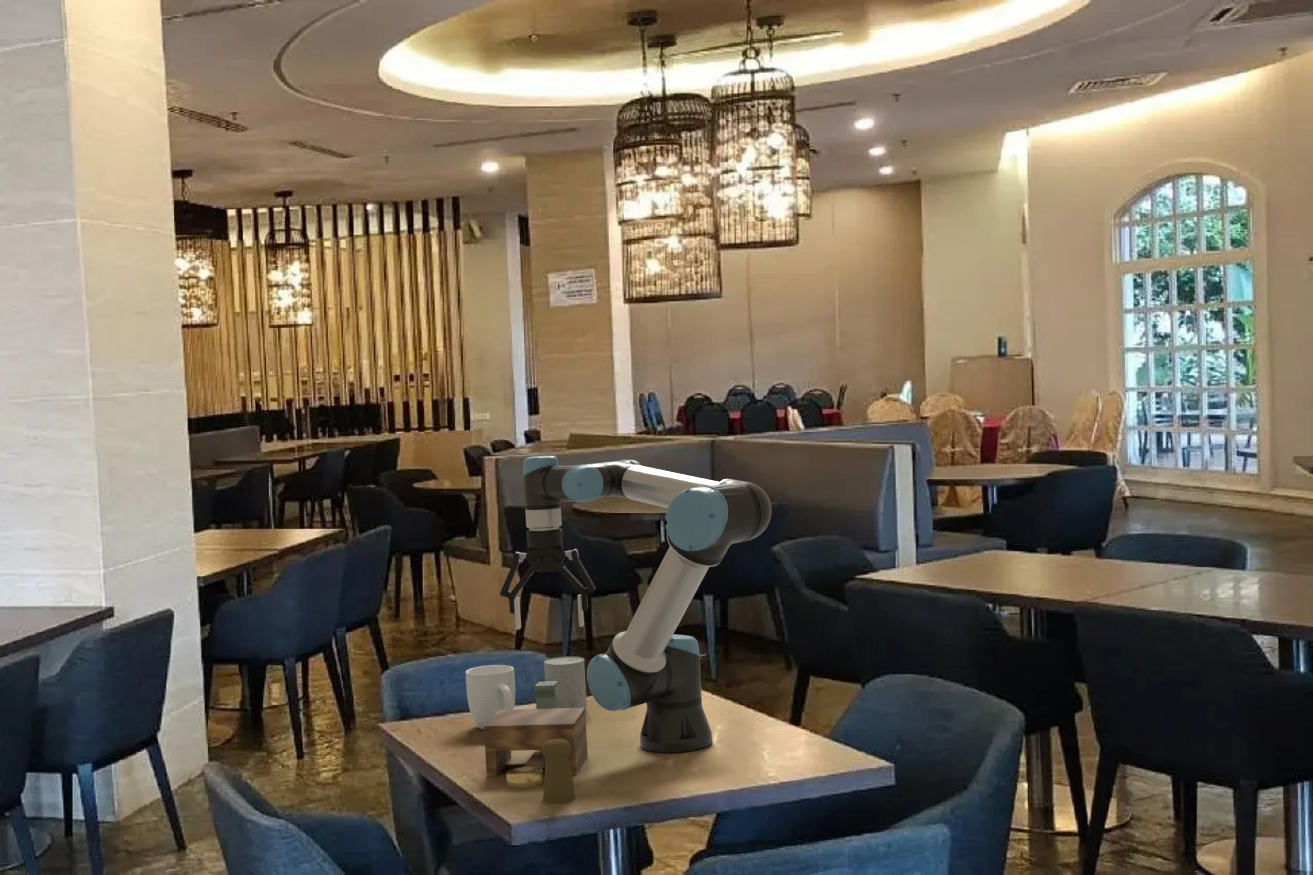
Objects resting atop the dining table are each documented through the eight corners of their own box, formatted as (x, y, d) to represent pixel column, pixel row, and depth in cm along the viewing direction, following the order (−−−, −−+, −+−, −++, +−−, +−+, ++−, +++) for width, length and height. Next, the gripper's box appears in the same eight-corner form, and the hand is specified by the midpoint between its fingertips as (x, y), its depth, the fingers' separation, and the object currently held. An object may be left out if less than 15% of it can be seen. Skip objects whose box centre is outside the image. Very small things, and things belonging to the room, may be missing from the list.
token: (549, 781, 282) (549, 768, 282) (530, 791, 275) (529, 778, 275) (519, 778, 285) (518, 765, 285) (499, 788, 279) (499, 775, 279)
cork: (563, 805, 264) (559, 745, 264) (536, 801, 268) (533, 742, 267) (582, 796, 269) (578, 737, 269) (555, 792, 273) (552, 734, 272)
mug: (534, 729, 324) (530, 671, 323) (490, 738, 318) (486, 679, 317) (503, 718, 336) (500, 662, 336) (460, 726, 330) (457, 669, 330)
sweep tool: (542, 747, 308) (538, 681, 307) (560, 746, 307) (557, 681, 307) (519, 778, 284) (515, 707, 283) (539, 778, 283) (535, 707, 283)
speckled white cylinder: (586, 716, 334) (583, 663, 334) (544, 718, 334) (541, 665, 334) (588, 707, 344) (585, 655, 343) (548, 708, 344) (545, 657, 343)
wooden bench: (587, 755, 298) (584, 707, 298) (576, 774, 285) (573, 724, 284) (502, 757, 301) (499, 709, 300) (486, 776, 287) (483, 726, 286)
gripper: (604, 523, 312) (609, 621, 313) (489, 529, 314) (495, 626, 314) (600, 527, 305) (606, 627, 305) (483, 533, 306) (489, 632, 307)
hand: (549, 627), depth 310 cm, fingers open, 13 cm apart
